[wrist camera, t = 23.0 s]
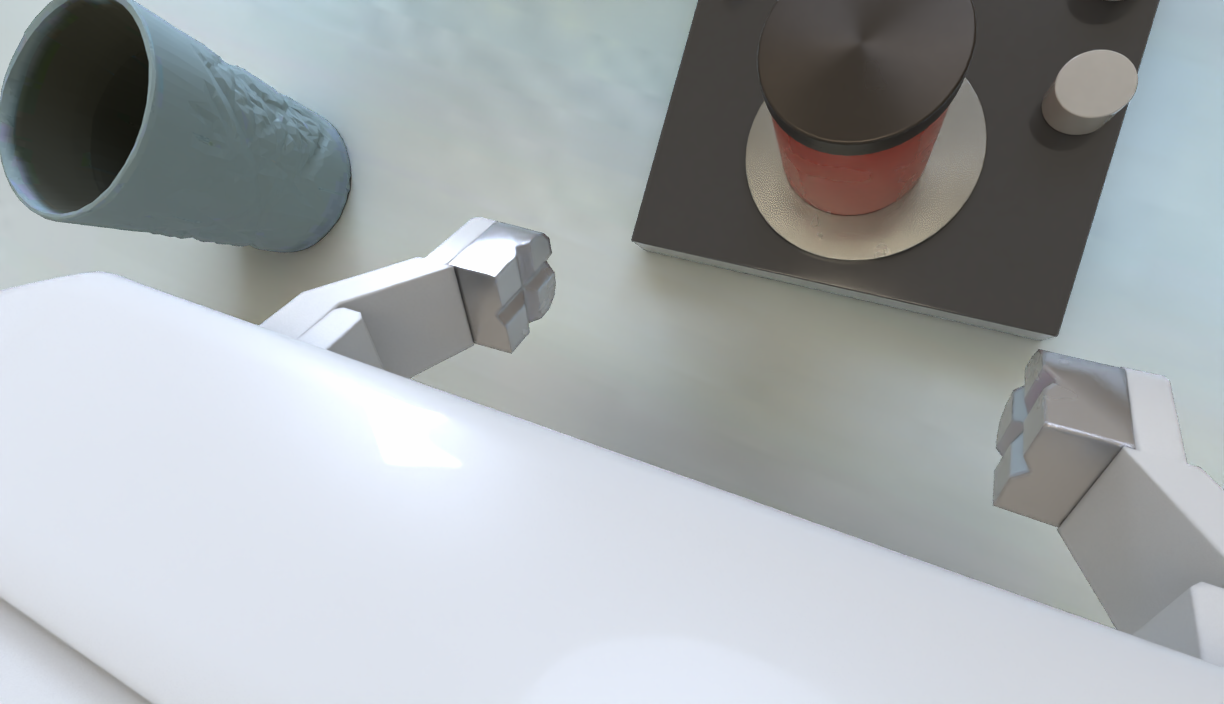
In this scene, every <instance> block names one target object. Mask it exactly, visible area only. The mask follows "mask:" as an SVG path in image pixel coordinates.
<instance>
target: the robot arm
mask: <svg viewBox="0 0 1224 704" xmlns="http://www.w3.org/2000/svg"><path fill="white" fill-rule="evenodd" d="M551 254H552V251H551V245H550V239H549V237H547V236H546V235H545V234H544V233H542V232H538V231H534V230H530V229H526V228H522V227H518V226H515V225H511V224H507V223H503V222H498V221H494V220H490V219H486V218H482V217H476V218H471V219H470V220H469V221H468V222H467V223H466V224H464V225H463V226H462V227H461V228H460V229H458V230H457V231H456V232H455V233H454V234H453V235H451V236H450V237H449V238H448V239H447V240H446V241H444V242H443V243H442V244H441V245H440V246H439V247H437V248H436V249H435V250H434V251H433V252H431V253H430V254H429V255H428V256H427V257H426V258H421V257H416V258H413V259H409V260H406V261H403V262H399V263H396V264H393V265H390V266H386V267H383V268H380V269H377V270H373V271H370V272H367V273H363V274H360V275H357V276H354V277H350V278H347V279H344V280H341V281H337V282H334V283H331V284H327V285H324V286H321V287H318V288H314V289H311V290H308V291H305V292H302V293H301V294H299V295H298V296H297V297H295V298H294V299H293V300H292V301H290V302H289V303H288V304H286V305H285V306H284V307H282V308H281V309H280V310H278V311H277V312H276V313H274V314H273V315H272V316H271V317H269V318H268V319H267V320H265V321H264V322H263V323H261V324H260V325H259V326H258V325H256V324H253V323H250V322H247V321H244V320H241V319H239V318H236V317H233V316H230V315H227V314H225V313H222V312H219V311H216V310H213V309H210V308H208V307H205V306H202V305H199V304H196V303H194V302H191V301H188V300H185V299H182V298H179V297H177V296H174V295H171V294H168V293H165V292H163V291H160V290H157V289H154V288H151V287H148V286H146V285H143V284H140V283H138V282H135V281H133V280H130V279H127V278H125V277H122V276H119V275H116V274H112V273H108V272H100V271H97V272H87V273H80V274H74V275H68V276H62V277H57V278H52V279H47V280H43V281H38V282H34V283H30V284H25V285H21V286H16V287H12V288H8V289H4V290H0V704H1224V489H1223V488H1222V487H1221V486H1219V485H1218V484H1217V483H1216V482H1215V481H1214V480H1213V479H1212V478H1211V477H1210V476H1209V475H1208V474H1207V473H1206V472H1205V471H1204V470H1203V469H1202V468H1201V467H1197V466H1193V465H1190V464H1188V463H1187V459H1186V454H1185V449H1184V445H1183V440H1182V435H1181V430H1180V426H1179V421H1178V416H1177V412H1176V407H1175V402H1174V398H1173V393H1172V388H1171V383H1170V381H1169V380H1168V379H1167V378H1166V377H1165V376H1163V375H1158V374H1154V373H1149V372H1144V371H1139V370H1134V369H1130V368H1125V367H1120V368H1119V367H1114V366H1110V365H1106V364H1101V363H1097V362H1093V361H1088V360H1084V359H1080V358H1075V357H1071V356H1066V355H1062V354H1058V353H1053V352H1049V351H1045V350H1040V349H1038V351H1037V352H1036V353H1035V354H1034V355H1033V356H1032V358H1031V360H1030V361H1029V363H1028V365H1027V367H1026V368H1025V385H1024V386H1022V387H1020V388H1017V389H1015V390H1013V392H1012V394H1011V396H1010V398H1009V400H1008V402H1007V403H1006V405H1005V408H1004V411H1003V414H1002V416H1001V419H1000V422H999V427H998V432H997V439H996V449H997V450H998V452H999V453H1000V454H1001V456H1002V458H1001V460H1000V462H999V464H998V465H997V467H996V469H995V470H994V488H993V506H996V507H999V508H1002V509H1005V510H1008V511H1011V512H1014V513H1017V514H1020V515H1023V516H1026V517H1029V518H1032V519H1035V520H1037V521H1040V522H1043V523H1046V524H1049V525H1052V526H1055V527H1058V529H1057V531H1058V532H1059V534H1060V536H1061V537H1062V539H1063V541H1064V542H1065V544H1066V546H1067V547H1068V549H1069V551H1070V552H1071V554H1072V556H1073V557H1074V559H1075V561H1076V562H1077V564H1078V566H1079V567H1080V569H1081V571H1082V572H1083V574H1084V576H1085V577H1086V579H1087V581H1088V582H1089V584H1090V586H1091V587H1092V589H1093V591H1094V592H1095V594H1096V596H1097V597H1098V599H1099V601H1100V602H1101V604H1102V606H1103V607H1104V609H1105V611H1106V612H1107V614H1108V616H1109V617H1110V619H1111V621H1112V622H1113V624H1114V626H1115V627H1116V629H1114V628H1111V627H1108V626H1105V625H1103V624H1100V623H1097V622H1094V621H1091V620H1088V619H1086V618H1083V617H1080V616H1077V615H1074V614H1071V613H1069V612H1066V611H1063V610H1060V609H1057V608H1055V607H1052V606H1049V605H1046V604H1043V603H1040V602H1038V601H1035V600H1032V599H1029V598H1026V597H1023V596H1021V595H1018V594H1015V593H1012V592H1009V591H1007V590H1004V589H1001V588H998V587H995V586H992V585H989V584H987V583H984V582H981V581H978V580H975V579H972V578H970V577H967V576H964V575H961V574H958V573H955V572H953V571H950V570H947V569H944V568H941V567H938V566H936V565H933V564H930V563H927V562H924V561H921V560H919V559H916V558H913V557H910V556H907V555H904V554H902V553H899V552H896V551H893V550H890V549H887V548H885V547H882V546H879V545H876V544H873V543H871V542H868V541H865V540H862V539H859V538H856V537H854V536H851V535H848V534H845V533H842V532H840V531H837V530H834V529H831V528H828V527H826V526H823V525H820V524H817V523H814V522H811V521H809V520H806V519H803V518H800V517H797V516H795V515H792V514H789V513H786V512H783V511H781V510H778V509H775V508H772V507H769V506H767V505H764V504H761V503H758V502H755V501H752V500H750V499H747V498H744V497H741V496H738V495H736V494H733V493H730V492H727V491H724V490H722V489H719V488H716V487H713V486H710V485H707V484H705V483H702V482H699V481H696V480H693V479H690V478H688V477H685V476H682V475H679V474H676V473H674V472H671V471H668V470H665V469H662V468H659V467H657V466H654V465H651V464H648V463H645V462H642V461H640V460H637V459H634V458H631V457H628V456H625V455H623V454H620V453H617V452H614V451H611V450H608V449H606V448H603V447H600V446H597V445H594V444H592V443H589V442H586V441H583V440H580V439H577V438H575V437H572V436H569V435H566V434H563V433H560V432H558V431H555V430H552V429H549V428H546V427H543V426H541V425H538V424H535V423H532V422H529V421H526V420H524V419H521V418H518V417H515V416H512V415H510V414H507V413H504V412H501V411H498V410H495V409H493V408H490V407H487V406H484V405H481V404H478V403H476V402H473V401H470V400H467V399H464V398H462V397H459V396H456V395H453V394H450V393H447V392H445V391H442V390H439V389H436V388H433V387H430V386H428V385H425V384H422V383H419V382H416V381H414V380H411V379H409V378H411V377H413V376H415V375H417V374H419V373H421V372H423V371H425V370H427V369H429V368H431V367H433V366H434V365H436V364H438V363H440V362H442V361H444V360H446V359H448V358H450V357H452V356H454V355H456V354H458V353H460V352H462V351H464V350H466V349H468V348H469V347H471V346H473V345H474V343H476V344H479V345H483V346H486V347H490V348H493V349H497V350H500V351H504V352H507V353H511V354H512V352H513V351H514V350H515V349H516V348H517V347H518V345H519V344H520V343H521V342H522V341H523V340H524V338H525V337H526V336H527V335H528V334H529V333H530V330H529V323H530V322H533V321H535V320H538V319H540V318H542V317H543V316H544V315H545V313H546V312H547V311H548V310H549V308H550V306H551V303H552V300H553V298H554V295H555V286H556V281H555V273H554V271H553V270H552V268H551V267H550V266H549V264H548V263H547V259H548V258H549V256H550V255H551Z"/></svg>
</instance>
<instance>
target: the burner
mask: <svg viewBox="0 0 1224 704" xmlns="http://www.w3.org/2000/svg"><path fill="white" fill-rule="evenodd" d="M986 148H987V129H986V120H985V116H984V112H983V108H982V106H981V103H980V101H979V98H978V96H977V94H976V92H975V91H974V89H973V87H972V86H971V84H970V82H969V81H968V80H967V79H966V77H965V78H964V80H963V83H962V85H961V87H960V89H959V91H958V93H957V94H956V96H955V98H954V99H953V101H952V102H951V103H950V106H949V108H948V111H947V114H946V116H945V119H944V121H943V124H942V126H941V129H940V132H939V134H938V137H937V139H936V142H935V144H934V147H933V150H932V152H931V155H930V157H929V160H928V162H927V165H926V167H925V169H924V171H923V173H922V175H921V176H920V178H919V179H918V180H917V182H916V183H915V184H914V185H913V187H912V188H911V189H910V190H909V191H908V192H907V193H905V194H904V195H903V196H902V197H901V198H899V199H898V200H896V201H895V202H893V203H892V204H890V205H888V206H886V207H884V208H881V209H879V210H876V211H873V212H869V213H865V214H858V215H840V214H833V213H829V212H825V211H823V210H820V209H818V208H816V207H814V206H812V205H810V204H809V203H807V202H806V201H805V200H804V199H802V198H801V197H800V196H799V195H798V194H797V193H796V192H795V190H794V189H793V187H792V186H791V185H790V183H789V181H788V179H787V177H786V174H785V171H784V168H783V163H782V159H781V155H780V151H779V147H778V142H777V138H776V134H775V130H774V126H773V121H772V117H771V114H770V112H769V110H768V108H767V106H766V103H765V100H764V102H763V103H762V105H761V106H760V108H759V110H758V112H757V114H756V116H755V118H754V121H753V124H752V126H751V129H750V132H749V136H748V141H747V145H746V156H745V166H746V177H747V182H748V187H749V190H750V193H751V195H752V198H753V201H754V203H755V205H756V207H757V209H758V211H759V213H760V214H761V216H762V217H763V218H764V220H765V221H766V223H767V224H768V225H769V226H770V227H771V228H772V229H773V230H774V232H775V233H776V234H777V235H779V236H780V237H781V238H782V239H784V240H785V241H786V242H787V243H789V244H791V245H792V246H794V247H796V248H797V249H799V250H801V251H804V252H806V253H808V254H811V255H813V256H816V257H820V258H823V259H827V260H833V261H840V262H866V261H875V260H880V259H884V258H889V257H892V256H895V255H898V254H901V253H903V252H906V251H908V250H910V249H912V248H914V247H916V246H918V245H920V244H922V243H924V242H925V241H927V240H928V239H930V238H931V237H933V236H934V235H936V234H937V233H938V232H939V231H940V230H942V229H943V228H944V227H945V226H946V225H948V223H949V222H950V221H951V220H952V219H953V218H954V217H955V216H956V215H957V214H958V213H959V211H960V210H961V209H962V207H963V206H964V205H965V203H966V202H967V200H968V199H969V197H970V196H971V194H972V192H973V190H974V188H975V186H976V184H977V182H978V180H979V177H980V174H981V172H982V169H983V165H984V161H985V156H986Z"/></svg>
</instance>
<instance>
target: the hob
mask: <svg viewBox="0 0 1224 704" xmlns="http://www.w3.org/2000/svg"><path fill="white" fill-rule="evenodd" d="M1159 1H1160V0H972V2H973V5H974V9H975V14H976V23H977V34H976V44H975V49H974V53H973V57H972V60H971V62H970V65H969V68H968V71H967V73H966V75H965V77H966V79H967V80H968V81H969V82H970V84H971V86H972V87H973V89H974V91H975V92H976V94H977V96H978V98H979V101H980V103H981V106H982V108H983V112H984V116H985V120H986V129H987V148H986V156H985V161H984V165H983V169H982V172H981V174H980V177H979V180H978V182H977V184H976V186H975V188H974V190H973V192H972V194H971V196H970V197H969V199H968V200H967V202H966V203H965V205H964V206H963V207H962V209H961V210H960V211H959V213H958V214H957V215H956V216H955V217H954V218H953V219H952V220H951V221H950V222H949V223H948V225H946V226H945V227H944V228H943V229H942V230H940V231H939V232H938V233H937V234H936V235H934V236H933V237H931V238H930V239H928V240H927V241H925V242H924V243H922V244H920V245H918V246H916V247H914V248H912V249H910V250H908V251H906V252H903V253H901V254H898V255H895V256H892V257H889V258H884V259H880V260H875V261H866V262H840V261H833V260H827V259H823V258H820V257H816V256H813V255H811V254H808V253H806V252H804V251H801V250H799V249H797V248H796V247H794V246H792V245H791V244H789V243H787V242H786V241H785V240H784V239H782V238H781V237H780V236H779V235H777V234H776V233H775V232H774V230H773V229H772V228H771V227H770V226H769V225H768V224H767V223H766V221H765V220H764V218H763V217H762V216H761V214H760V213H759V211H758V209H757V207H756V205H755V203H754V201H753V198H752V195H751V193H750V190H749V187H748V182H747V177H746V166H745V156H746V145H747V141H748V136H749V132H750V129H751V126H752V124H753V121H754V118H755V116H756V114H757V112H758V110H759V108H760V106H761V105H762V103H763V102H764V98H763V94H762V90H761V86H760V82H759V77H758V71H757V52H758V45H759V40H760V35H761V32H762V30H763V27H764V24H765V21H766V19H767V17H768V15H769V13H770V11H771V10H772V8H773V6H774V5H775V3H776V2H777V0H698V3H697V6H696V10H695V14H694V17H693V21H692V24H691V28H690V32H689V35H688V39H687V42H686V46H685V49H684V53H683V57H682V60H681V64H680V67H679V71H678V74H677V78H676V82H675V85H674V89H673V92H672V96H671V99H670V103H669V107H668V110H667V114H666V117H665V121H664V125H663V128H662V132H661V135H660V139H659V142H658V146H657V150H656V153H655V157H654V160H653V164H652V167H651V171H650V175H649V178H648V182H647V185H646V189H645V192H644V196H643V200H642V203H641V207H640V210H639V214H638V218H637V221H636V225H635V228H634V232H633V235H632V239H631V241H632V242H634V243H635V244H636V245H638V246H639V247H641V248H642V249H643V250H646V251H650V252H654V253H659V254H663V255H668V256H672V257H676V258H681V259H685V260H689V261H694V262H698V263H703V264H707V265H711V266H716V267H720V268H724V269H729V270H733V271H737V272H742V273H746V274H751V275H755V276H759V277H764V278H768V279H772V280H777V281H781V282H786V283H790V284H794V285H799V286H803V287H807V288H812V289H816V290H820V291H825V292H829V293H834V294H838V295H842V296H847V297H851V298H855V299H860V300H864V301H869V302H873V303H877V304H882V305H886V306H890V307H895V308H899V309H904V310H908V311H912V312H917V313H921V314H925V315H930V316H934V317H938V318H943V319H947V320H952V321H956V322H960V323H965V324H969V325H973V326H978V327H982V328H987V329H991V330H995V331H1000V332H1004V333H1008V334H1013V335H1017V336H1021V337H1026V338H1030V339H1035V340H1039V341H1042V340H1046V339H1050V338H1053V337H1057V336H1058V334H1059V331H1060V328H1061V324H1062V321H1063V318H1064V314H1065V311H1066V308H1067V304H1068V301H1069V298H1070V295H1071V291H1072V288H1073V285H1074V281H1075V278H1076V275H1077V271H1078V268H1079V265H1080V262H1081V258H1082V255H1083V252H1084V248H1085V245H1086V242H1087V238H1088V235H1089V232H1090V229H1091V225H1092V222H1093V219H1094V215H1095V212H1096V209H1097V206H1098V202H1099V199H1100V196H1101V192H1102V189H1103V186H1104V182H1105V179H1106V176H1107V173H1108V169H1109V166H1110V163H1111V159H1112V156H1113V153H1114V149H1115V146H1116V143H1117V140H1118V136H1119V133H1120V130H1121V126H1122V123H1123V120H1124V116H1125V113H1126V110H1127V107H1128V103H1129V101H1130V100H1131V98H1132V97H1133V95H1134V93H1135V91H1136V89H1137V84H1138V76H1137V74H1138V70H1139V67H1140V64H1141V60H1142V57H1143V54H1144V51H1145V47H1146V44H1147V41H1148V37H1149V34H1150V31H1151V27H1152V24H1153V21H1154V18H1155V14H1156V11H1157V8H1158V4H1159Z"/></svg>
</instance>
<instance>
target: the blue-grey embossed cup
mask: <svg viewBox="0 0 1224 704" xmlns="http://www.w3.org/2000/svg"><path fill="white" fill-rule="evenodd" d="M0 157H1V162H2V165H3V168H4V172H5V175H6V178H7V180H8V182H9V184H10V186H11V188H12V190H13V191H14V193H15V194H16V196H17V197H18V198H19V200H20V201H21V202H22V203H23V204H24V205H25V206H26V207H28V208H29V209H30V210H31V211H33V212H35V213H36V214H38V215H40V216H42V217H43V218H45V219H49V220H52V221H56V222H64V223H72V224H80V225H88V226H97V227H105V228H114V229H119V230H128V231H139V232H150V233H152V234H161V235H164V236H169V237H177V238H180V239H183V238H191V237H193V238H195V239H196V240H199V241H202V242H215V243H217V244H230V245H233V246H247V245H251V246H253V247H254V248H256V249H261V250H267V251H274V252H295V251H299V250H303V249H306V248H308V247H310V246H312V245H313V244H315V243H317V242H318V241H319V240H320V239H322V238H323V237H324V236H325V235H326V234H327V233H328V232H329V231H330V230H331V228H332V227H333V226H334V224H335V223H336V222H337V220H338V219H339V217H340V215H341V213H342V210H343V208H344V205H345V203H346V200H347V193H348V192H349V191H350V182H349V179H350V176H351V174H350V164H349V158H348V154H347V150H346V147H345V145H344V143H343V139H342V138H341V137H340V134H339V133H338V132H337V130H336V129H335V128H334V127H333V126H332V125H331V124H330V123H329V122H328V121H327V120H326V119H324V118H323V117H321V116H320V115H318V114H317V113H315V112H313V111H311V110H310V109H308V108H306V107H305V106H303V105H301V104H299V103H297V102H296V101H294V100H293V99H291V98H290V97H288V96H285V95H282V94H281V93H278V92H277V91H276V90H275V89H274V88H273V87H270V86H269V85H267V84H266V83H264V82H263V81H262V80H260V79H259V78H257V77H256V76H254V75H252V74H250V73H249V72H248V71H246V70H245V69H243V68H240V67H239V66H231V65H229V64H227V63H226V62H224V61H223V60H222V59H221V58H220V56H217V55H216V54H215V53H214V52H212V51H211V50H210V49H208V48H207V47H206V46H205V45H204V44H202V43H200V42H199V41H197V40H195V39H193V38H192V37H190V36H189V35H187V34H186V33H184V32H182V31H180V30H178V29H177V28H175V27H174V26H172V25H171V24H169V23H168V22H167V21H165V20H163V19H162V18H160V17H159V16H157V15H156V14H154V13H153V12H151V11H149V10H148V9H146V8H145V7H143V6H142V5H140V4H139V3H137V2H135V1H134V0H53V1H51V2H50V3H49V4H48V5H47V6H46V7H45V8H44V9H43V10H42V11H41V12H40V13H39V14H38V15H37V16H36V17H35V18H34V20H33V21H32V23H31V24H30V25H29V27H28V28H27V29H26V31H25V32H24V36H23V38H22V39H21V41H20V43H19V45H18V47H17V49H16V51H15V53H14V55H13V57H12V59H11V61H10V64H9V67H8V69H7V72H6V74H5V77H4V81H3V85H2V89H1V96H0Z"/></svg>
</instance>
